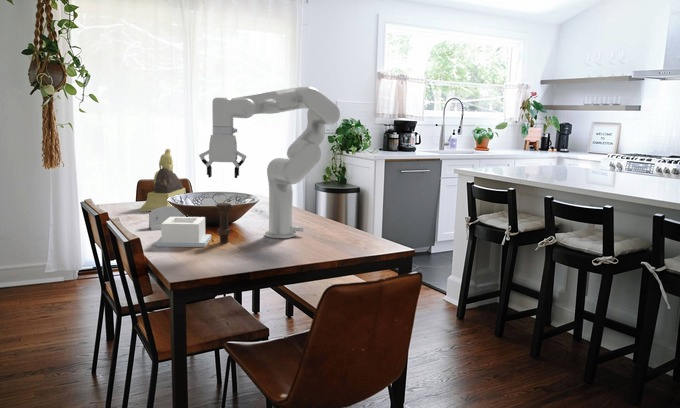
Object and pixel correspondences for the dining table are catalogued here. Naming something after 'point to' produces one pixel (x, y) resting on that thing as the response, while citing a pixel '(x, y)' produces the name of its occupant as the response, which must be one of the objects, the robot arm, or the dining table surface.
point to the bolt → (223, 221)
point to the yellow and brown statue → (163, 185)
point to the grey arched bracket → (162, 216)
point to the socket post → (183, 232)
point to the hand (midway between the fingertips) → (223, 177)
